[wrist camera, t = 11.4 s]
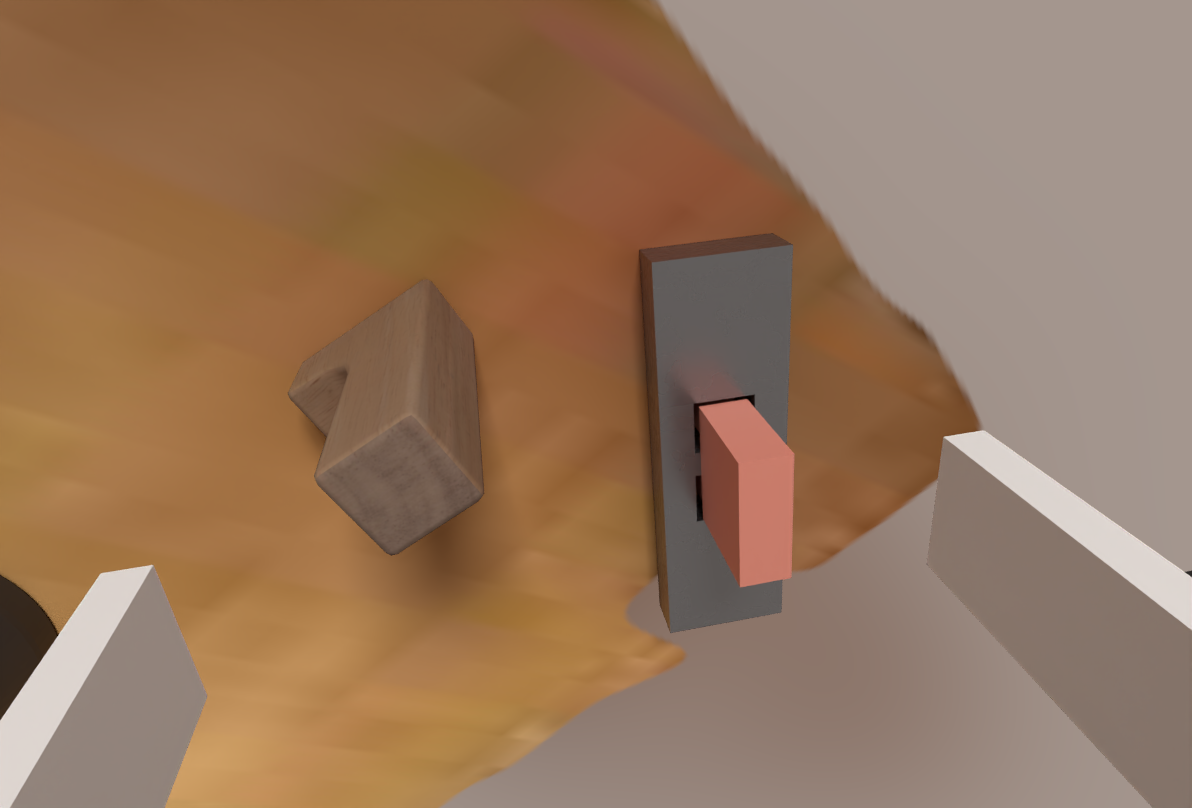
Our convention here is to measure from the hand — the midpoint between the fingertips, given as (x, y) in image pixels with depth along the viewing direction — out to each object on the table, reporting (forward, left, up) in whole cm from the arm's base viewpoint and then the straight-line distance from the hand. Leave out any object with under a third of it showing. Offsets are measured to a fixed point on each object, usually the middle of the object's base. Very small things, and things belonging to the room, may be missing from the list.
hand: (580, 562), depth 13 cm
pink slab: (+12, -16, -32) cm, 37 cm away
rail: (+12, -16, -32) cm, 37 cm away
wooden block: (-7, -7, -32) cm, 33 cm away
